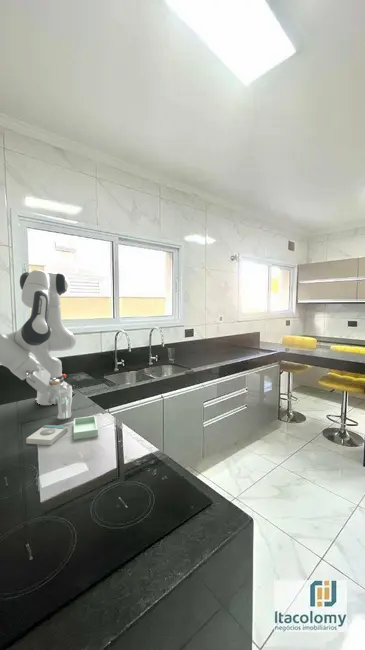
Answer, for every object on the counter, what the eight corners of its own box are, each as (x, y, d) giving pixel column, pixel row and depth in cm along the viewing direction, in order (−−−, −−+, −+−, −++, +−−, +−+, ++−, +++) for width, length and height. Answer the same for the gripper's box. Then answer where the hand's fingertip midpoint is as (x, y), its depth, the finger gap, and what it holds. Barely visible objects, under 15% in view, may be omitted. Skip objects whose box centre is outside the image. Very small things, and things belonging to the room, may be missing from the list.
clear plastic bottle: (66, 420, 128) (66, 388, 127) (53, 419, 129) (52, 387, 128) (75, 415, 135) (75, 384, 134) (62, 413, 136) (62, 383, 135)
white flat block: (45, 429, 118) (45, 424, 118) (67, 431, 117) (67, 425, 117) (26, 443, 106) (26, 437, 106) (50, 445, 105) (50, 439, 105)
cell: (52, 400, 115) (52, 376, 114) (62, 400, 114) (62, 377, 113) (45, 403, 110) (45, 379, 110) (56, 404, 110) (56, 380, 109)
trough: (74, 424, 124) (73, 418, 124) (95, 421, 127) (95, 415, 127) (73, 439, 110) (73, 432, 109) (97, 436, 113) (97, 429, 113)
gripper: (31, 368, 99) (61, 392, 103) (36, 358, 118) (62, 378, 122) (17, 381, 97) (48, 405, 102) (24, 369, 116) (51, 389, 121)
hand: (56, 390), depth 112 cm, fingers closed on cell, 4 cm apart
